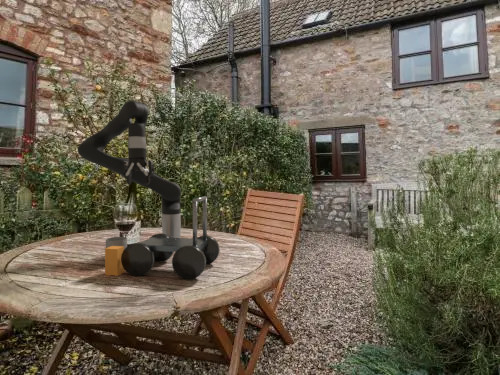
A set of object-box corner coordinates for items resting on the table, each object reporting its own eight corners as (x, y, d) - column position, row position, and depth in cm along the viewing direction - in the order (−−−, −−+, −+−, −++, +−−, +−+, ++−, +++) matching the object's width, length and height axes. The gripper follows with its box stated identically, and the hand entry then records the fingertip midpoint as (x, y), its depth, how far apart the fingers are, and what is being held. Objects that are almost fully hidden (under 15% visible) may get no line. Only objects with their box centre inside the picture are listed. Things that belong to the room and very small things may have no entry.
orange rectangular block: (105, 275, 120) (105, 248, 120) (112, 271, 124) (112, 245, 124) (117, 276, 119) (117, 249, 119) (124, 272, 124) (124, 246, 123)
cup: (110, 259, 141) (109, 237, 141) (129, 259, 142) (129, 236, 141) (103, 265, 133) (102, 241, 132) (123, 264, 133) (123, 240, 133)
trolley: (121, 275, 120) (120, 197, 119) (148, 259, 141) (148, 194, 140) (204, 280, 115) (204, 199, 113) (219, 264, 136) (219, 195, 134)
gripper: (117, 147, 140) (118, 184, 141) (148, 146, 137) (149, 184, 138) (127, 148, 147) (128, 184, 148) (156, 147, 145) (157, 184, 145)
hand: (138, 184), depth 143 cm, fingers open, 8 cm apart
